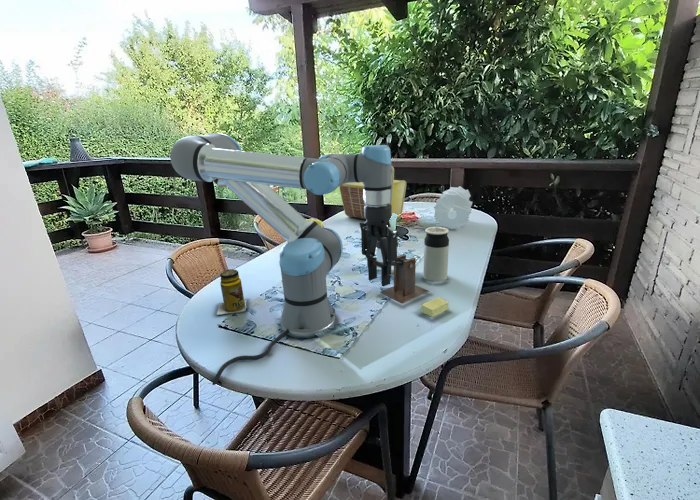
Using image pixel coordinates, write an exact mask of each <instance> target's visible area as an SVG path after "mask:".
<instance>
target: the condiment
mask: <svg viewBox="0 0 700 500" xmlns="http://www.w3.org/2000/svg"><path fill="white" fill-rule="evenodd" d="M219 276H220V283H219V284H220V289H221V295H222V301H223V302H220V303H218V307H217V312H216V316H219V315H227V314H235V313H243V312H246V311H247V299H245V297H244V291H243V285H242V279H241V278H240V274H239V271H238V270H237V269H233V268H231V269H225V270H223V271H221V272H220V274H219Z"/></svg>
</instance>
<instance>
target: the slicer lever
mask: <svg viewBox="0 0 700 500" xmlns="http://www.w3.org/2000/svg"><path fill="white" fill-rule="evenodd" d="M408 259H409V258H406V259H400V260H399V262H397V263H395V264H392V265H391V266H399V267H402V268H403V261H405V260H408ZM371 264H373V265H375V266H377V267H380V268H381V264H383V262H378V261H376V260H372V261H371Z"/></svg>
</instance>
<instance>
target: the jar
mask: <svg viewBox="0 0 700 500" xmlns="http://www.w3.org/2000/svg"><path fill="white" fill-rule="evenodd" d="M383 238H384V237H383ZM397 245H399V242H398V240H397ZM375 254H376V256H374V257H376V258H377V261H378V262H383V259H382V254H381V249H380V243H379V242H378V241H377V244H376V250H375ZM397 256H399V247H398V246H397ZM387 261H388V260H387ZM377 271H381V268H380V267H377ZM391 271H394V266H391Z"/></svg>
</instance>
